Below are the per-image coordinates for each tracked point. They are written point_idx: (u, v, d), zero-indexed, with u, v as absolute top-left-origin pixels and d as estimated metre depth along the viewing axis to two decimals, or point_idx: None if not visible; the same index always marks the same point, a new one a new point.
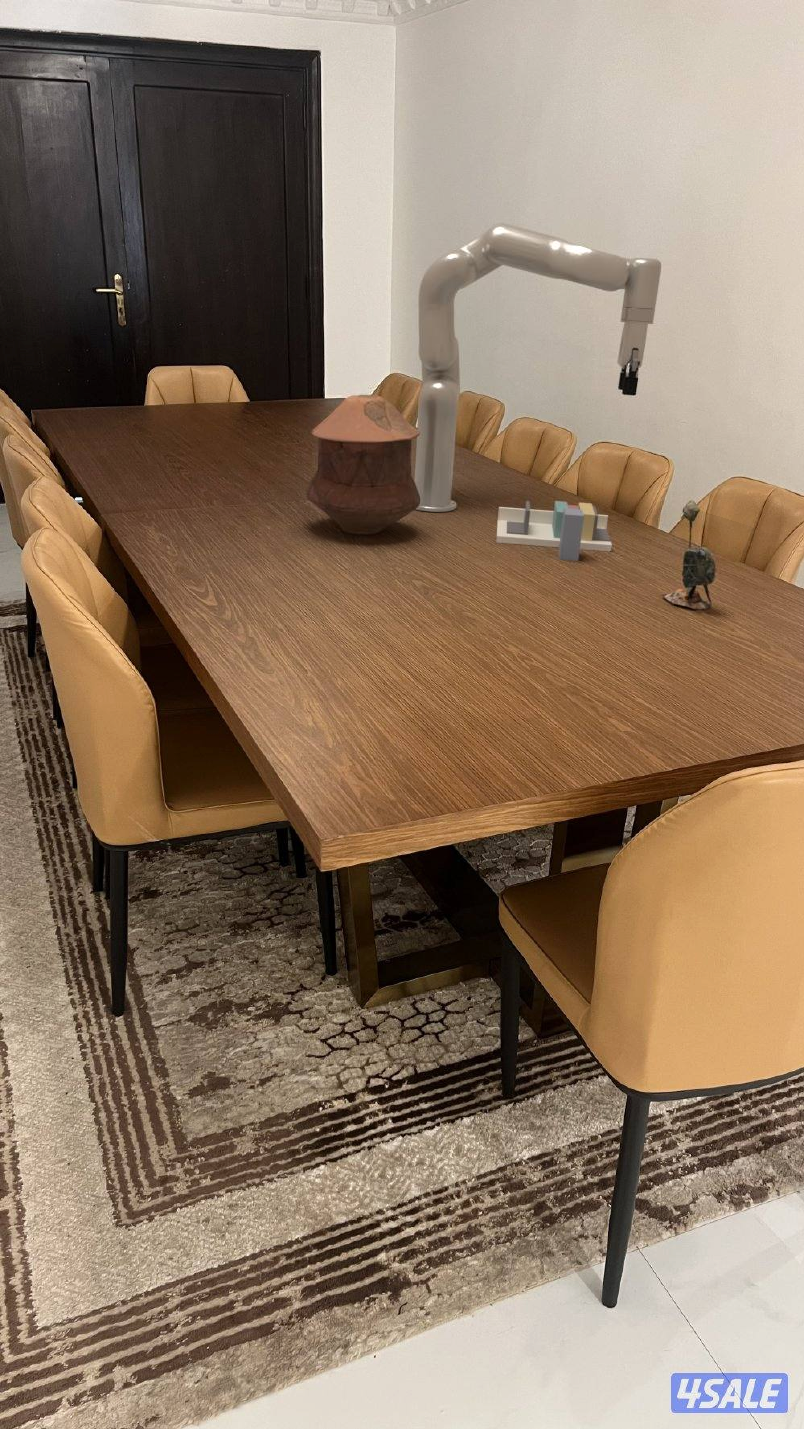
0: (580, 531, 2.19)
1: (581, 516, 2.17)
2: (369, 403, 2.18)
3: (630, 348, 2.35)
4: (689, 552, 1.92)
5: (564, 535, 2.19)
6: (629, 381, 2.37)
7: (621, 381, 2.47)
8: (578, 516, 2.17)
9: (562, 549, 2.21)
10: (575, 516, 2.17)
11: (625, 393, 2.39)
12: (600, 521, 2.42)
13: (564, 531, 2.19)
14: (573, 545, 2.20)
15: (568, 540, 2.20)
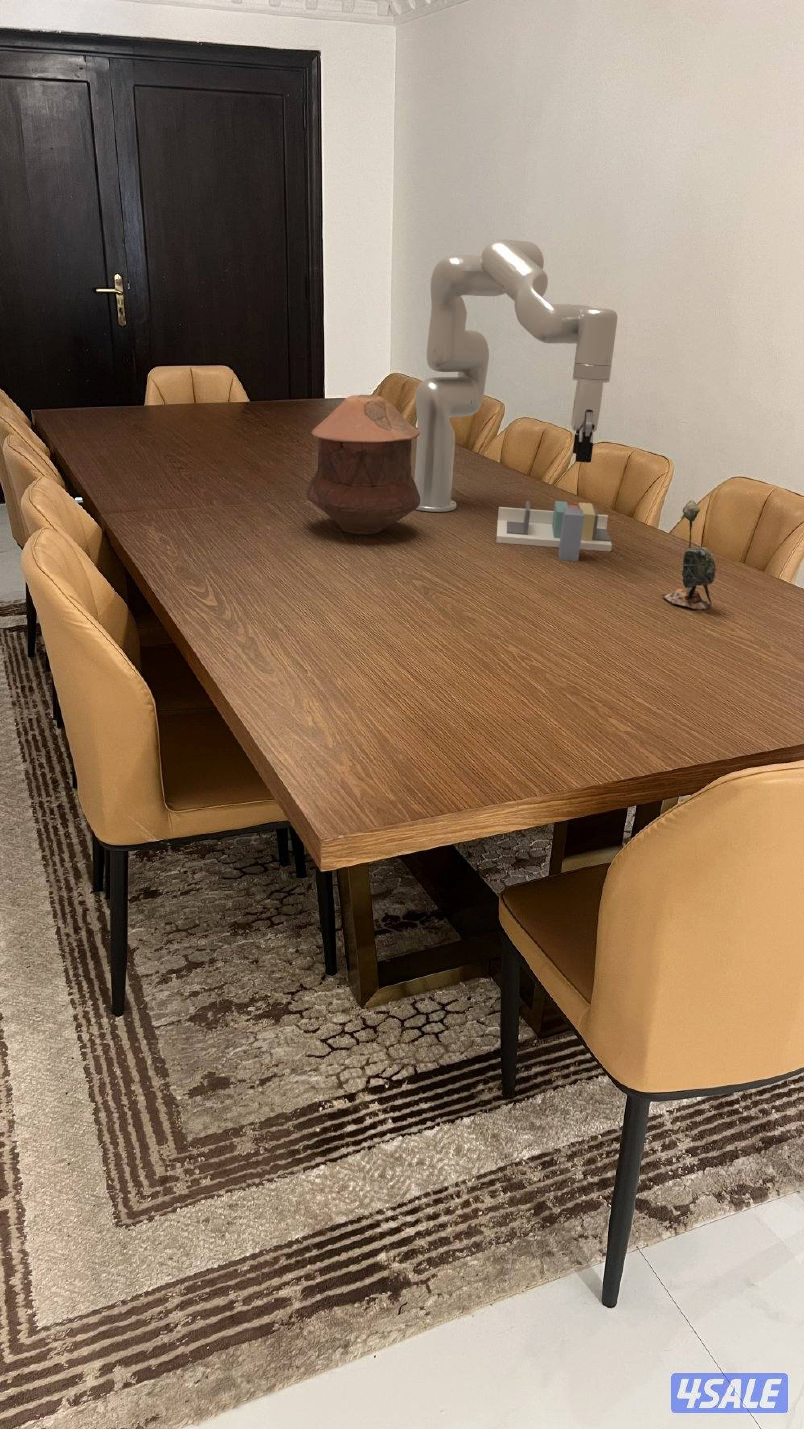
0: (580, 531, 2.19)
1: (581, 516, 2.17)
2: (369, 403, 2.18)
3: (583, 410, 2.06)
4: (689, 552, 1.92)
5: (564, 535, 2.19)
6: (583, 447, 2.08)
7: (576, 444, 2.18)
8: (578, 516, 2.17)
9: (562, 549, 2.21)
10: (575, 516, 2.17)
11: (579, 460, 2.10)
12: (600, 521, 2.42)
13: (564, 531, 2.19)
14: (573, 545, 2.20)
15: (568, 540, 2.20)
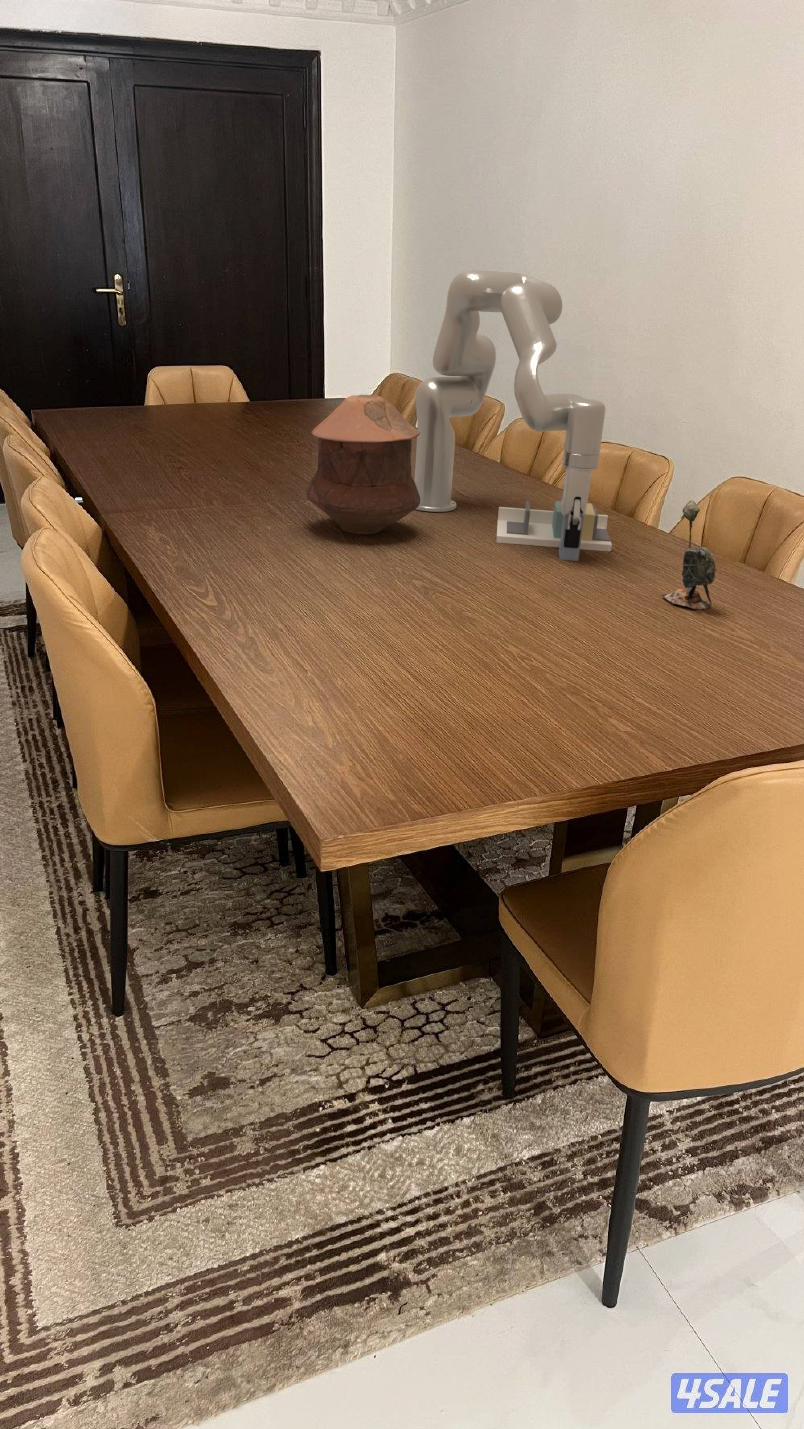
0: None
1: None
2: (369, 403, 2.18)
3: (572, 497, 2.14)
4: (689, 552, 1.92)
5: (564, 535, 2.19)
6: (571, 534, 2.18)
7: None
8: None
9: (562, 549, 2.21)
10: None
11: (567, 546, 2.20)
12: (600, 521, 2.42)
13: (564, 531, 2.19)
14: None
15: None
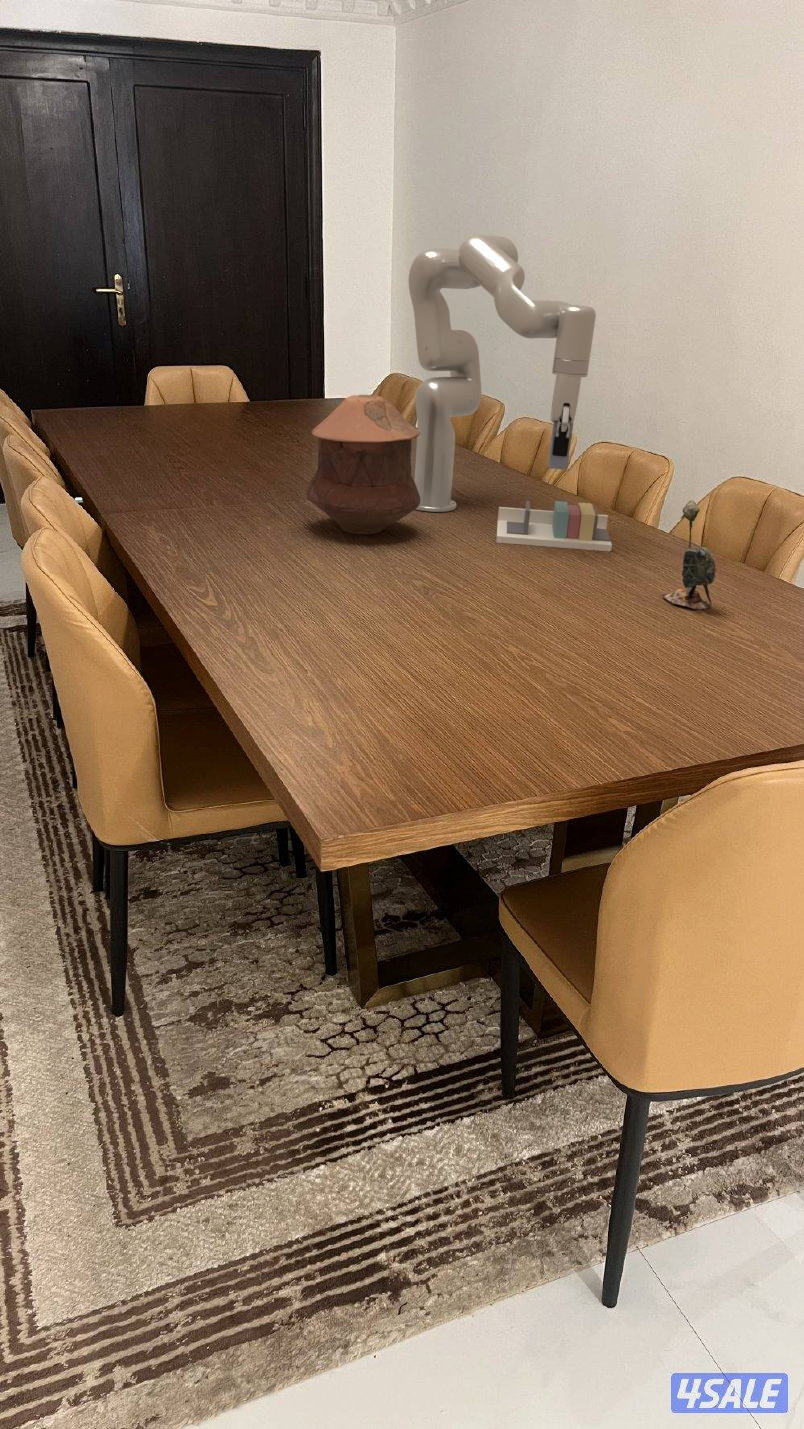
0: (569, 439, 2.20)
1: (570, 423, 2.19)
2: (369, 403, 2.18)
3: (561, 403, 2.15)
4: (689, 552, 1.92)
5: (553, 443, 2.21)
6: (560, 441, 2.19)
7: None
8: None
9: (551, 457, 2.22)
10: None
11: (555, 454, 2.21)
12: (600, 521, 2.42)
13: (553, 439, 2.21)
14: None
15: None
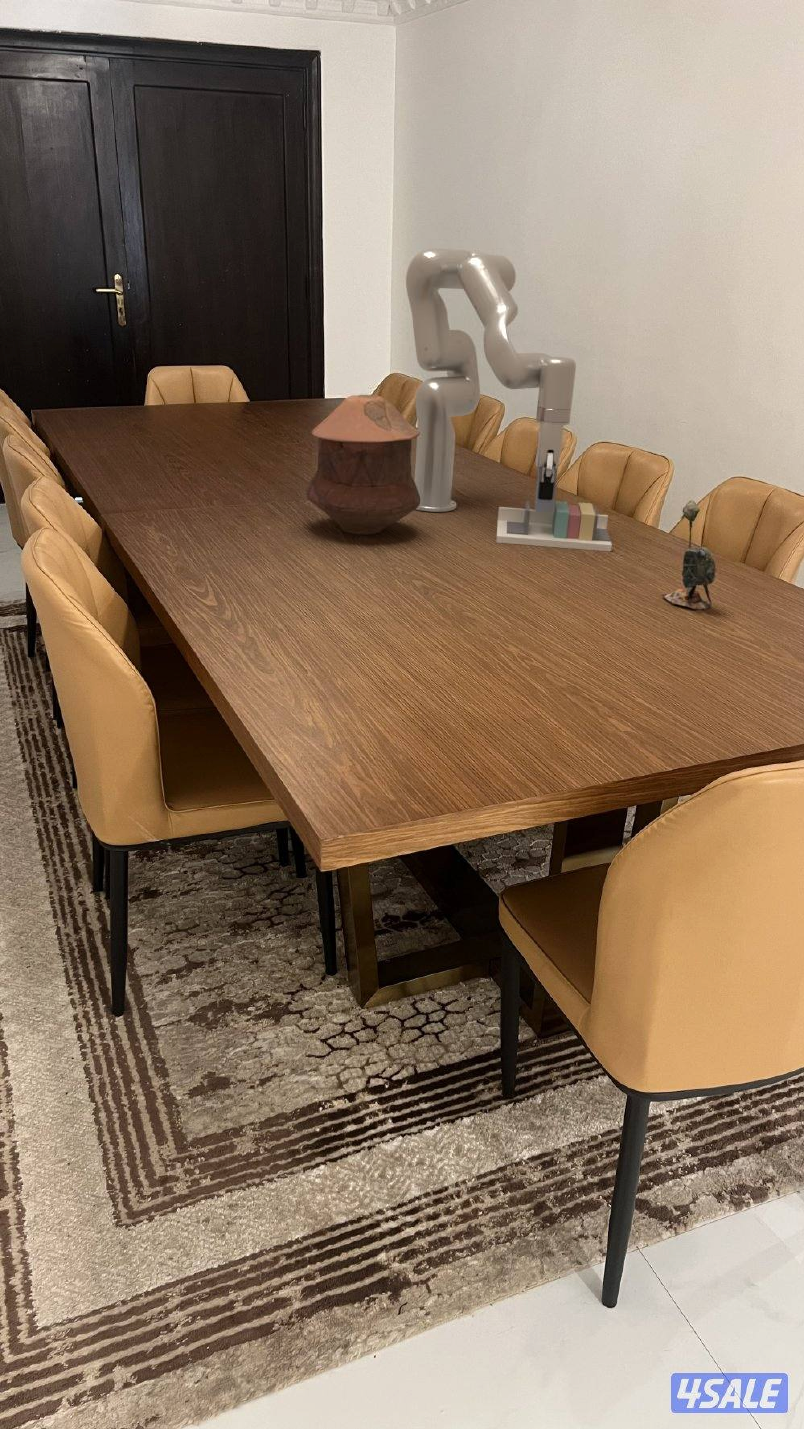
0: (554, 483, 2.30)
1: None
2: (369, 403, 2.18)
3: (545, 450, 2.25)
4: (689, 552, 1.92)
5: None
6: (545, 486, 2.29)
7: None
8: None
9: (537, 501, 2.32)
10: None
11: (541, 498, 2.31)
12: (600, 521, 2.42)
13: (539, 483, 2.30)
14: None
15: None
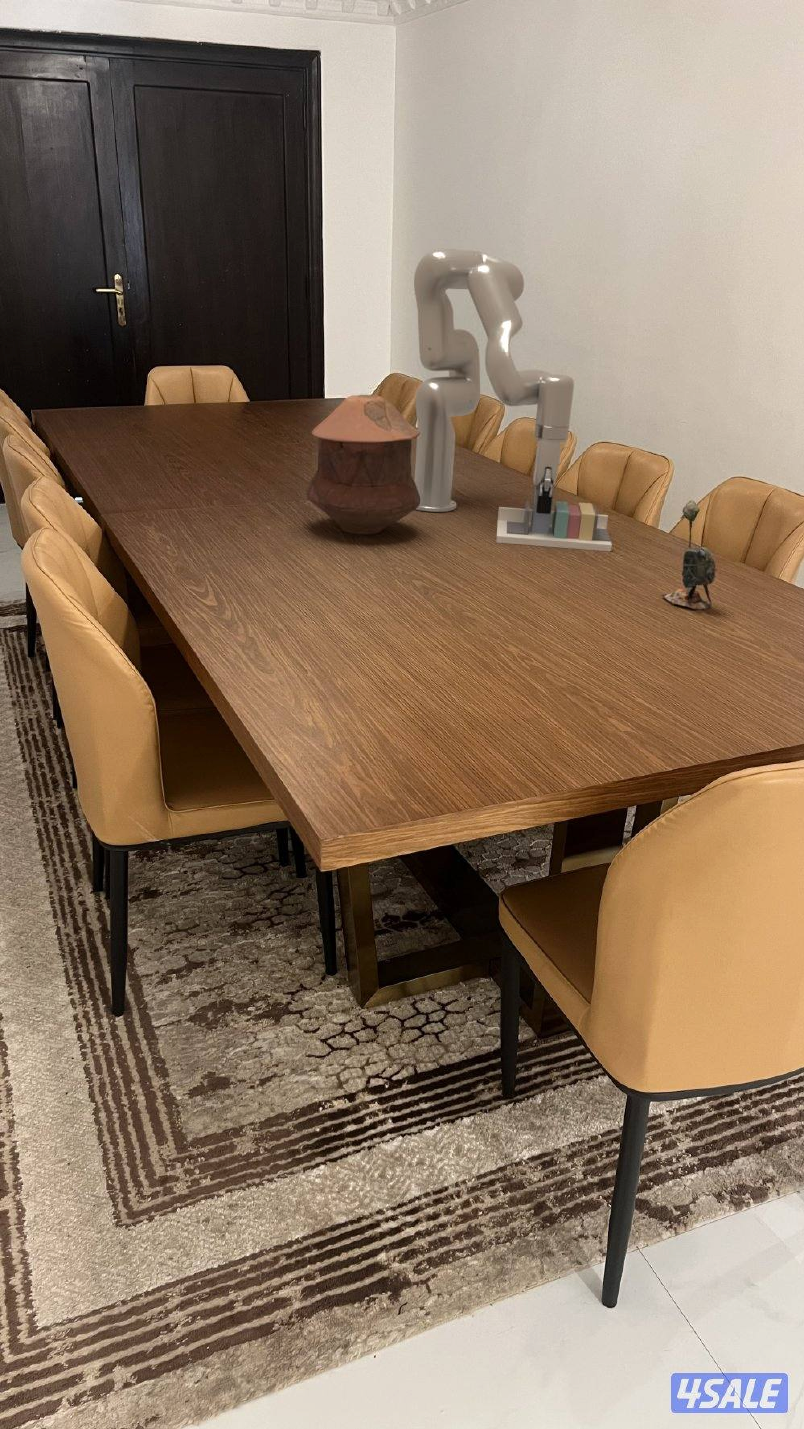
0: None
1: None
2: (369, 403, 2.18)
3: (543, 467, 2.26)
4: (689, 552, 1.92)
5: (535, 510, 2.33)
6: (543, 500, 2.29)
7: None
8: None
9: (533, 523, 2.34)
10: None
11: (539, 511, 2.31)
12: (600, 521, 2.42)
13: (535, 506, 2.32)
14: (543, 519, 2.33)
15: (538, 514, 2.33)
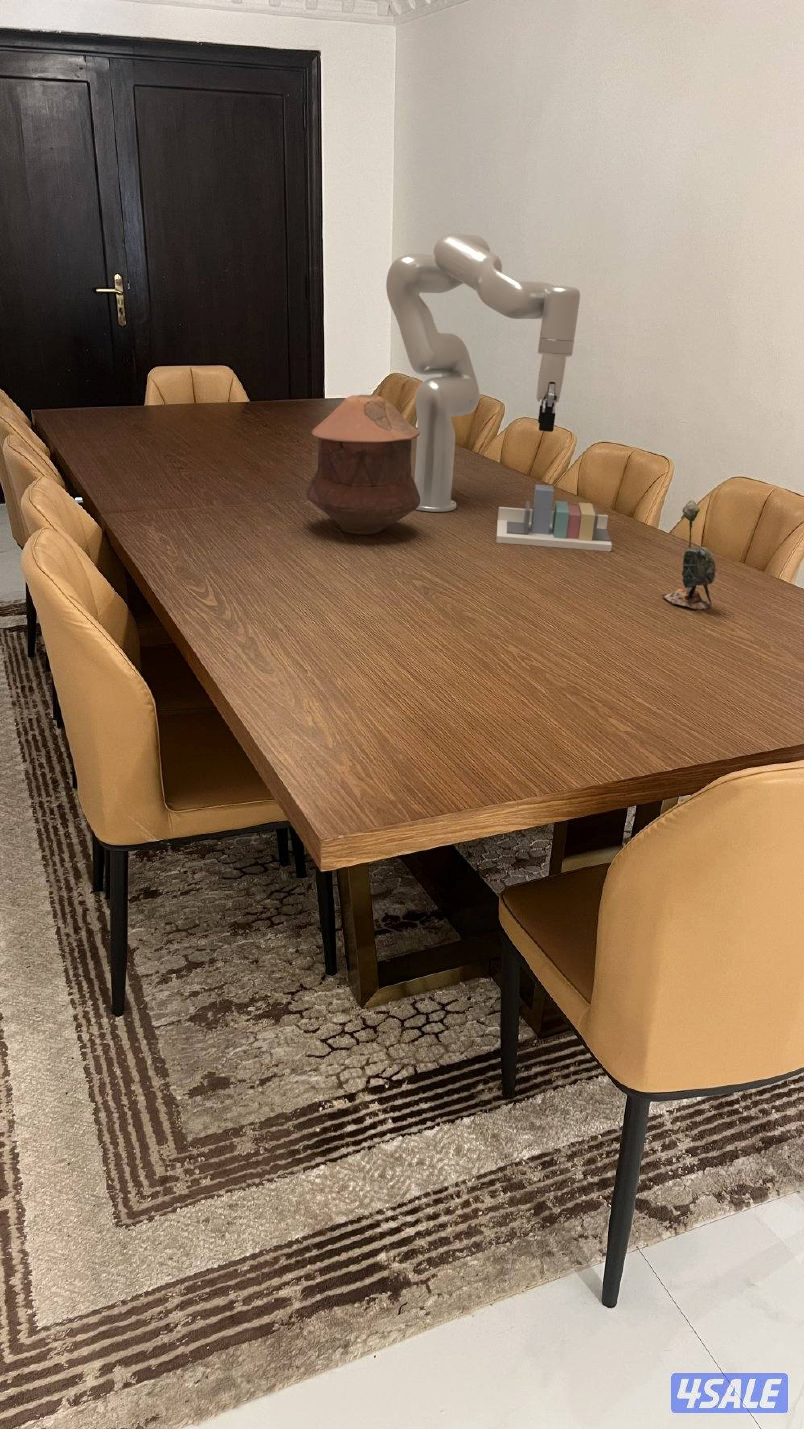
0: (550, 506, 2.32)
1: (551, 491, 2.31)
2: (369, 403, 2.18)
3: (546, 382, 2.20)
4: (689, 552, 1.92)
5: (535, 510, 2.33)
6: (546, 417, 2.23)
7: (541, 414, 2.33)
8: (548, 491, 2.31)
9: (533, 523, 2.34)
10: (545, 491, 2.31)
11: (542, 429, 2.25)
12: (600, 521, 2.42)
13: (535, 506, 2.32)
14: (543, 519, 2.33)
15: (538, 514, 2.33)
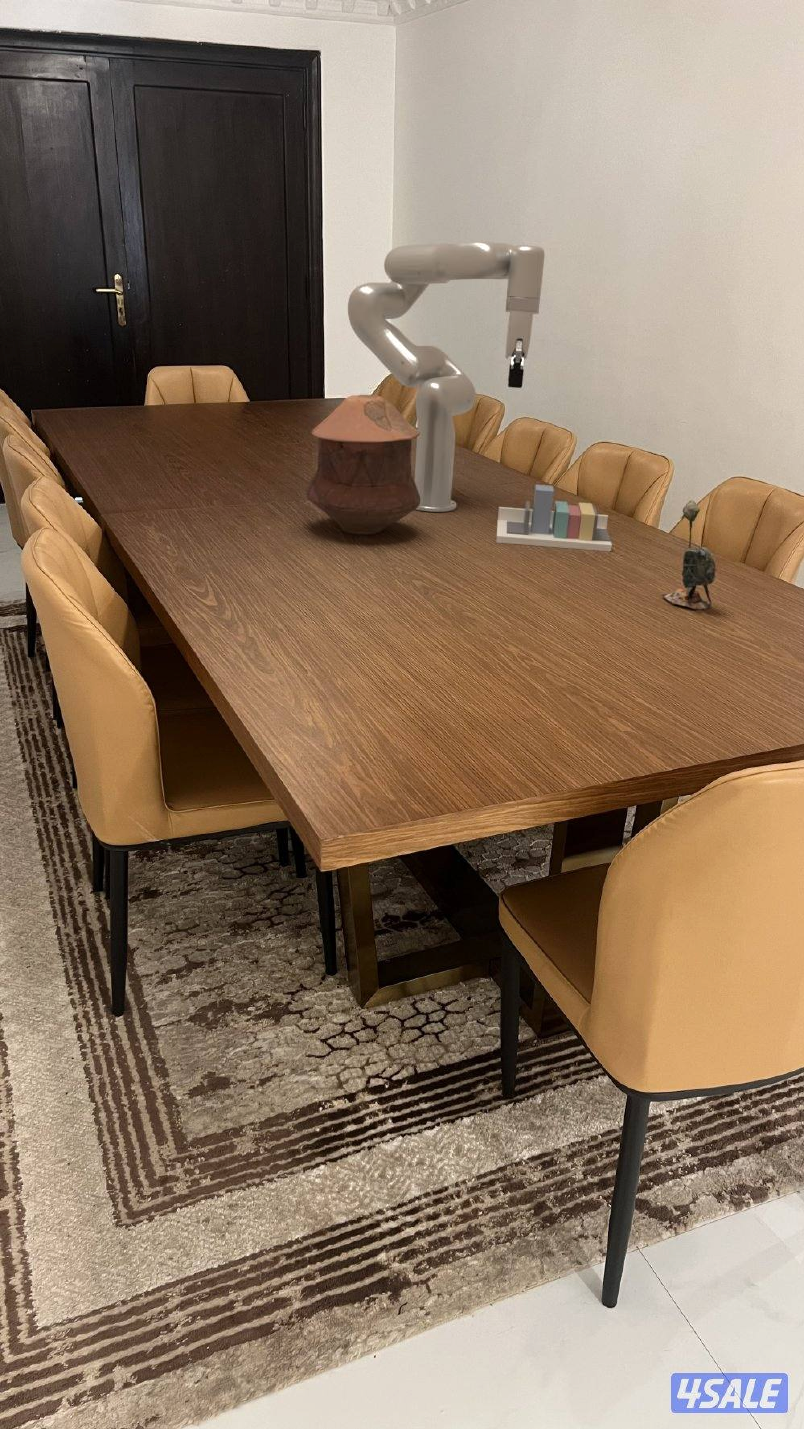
0: (550, 506, 2.32)
1: (551, 491, 2.31)
2: (369, 403, 2.18)
3: (514, 339, 2.27)
4: (689, 552, 1.92)
5: (535, 510, 2.33)
6: (514, 373, 2.29)
7: None
8: (548, 491, 2.31)
9: (533, 523, 2.34)
10: (545, 491, 2.31)
11: (511, 385, 2.31)
12: (600, 521, 2.42)
13: (535, 506, 2.32)
14: (543, 519, 2.33)
15: (538, 514, 2.33)
